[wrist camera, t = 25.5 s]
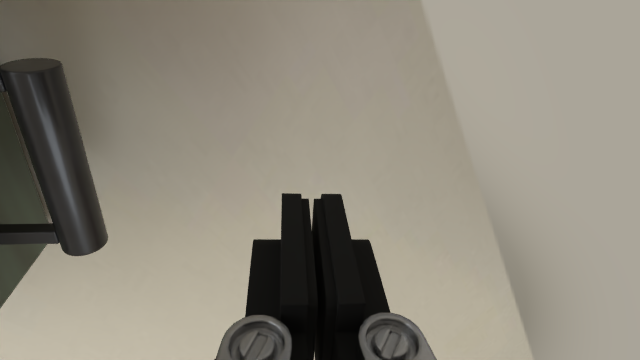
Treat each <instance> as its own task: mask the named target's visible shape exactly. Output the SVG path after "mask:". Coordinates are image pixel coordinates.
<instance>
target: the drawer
mask: <svg viewBox="0 0 640 360" xmlns="http://www.w3.org/2000/svg"><path fill="white" fill-rule="evenodd" d="M5 91H7V93H8V96H9V99H10V101H11V104H12V107H13V110H14V113H15V116H16V119H17V121H18V124H19V127H20V130H21V133H22V136H23V139H24V141H25V144H26V147H27V150H28V153H29V156H30V159H31V161H32V164H33V167H34V170H35V173H36V176H37V179H38V181H39V184H40V187H41V190H42V193H43V196H44V199H45V201H46V204H47V207H48V210H49V213H50V216H51V219H52V222H53V223H48V220H47V217H46V215H45V212H44V209H43V206H42V203H41V201H40V198H39V195H38V192H37V189H36V187H35V184H34V181H33V178H32V175H31V173H30V170H29V167H28V164H27V161H26V159H25V156H24V153H23V150H22V147H21V145H20V142H19V139H18V136H17V133H16V131H15V128H14V125H13V122H12V119H11V116H10V114H9V111H8V108H7V105H6V102H5V100H4V97H3V94H2V92H5ZM107 240H108V234H107V231H106V227H105V223H104V219H103V216H102V212H101V208H100V204H99V201H98V197H97V193H96V189H95V186H94V182H93V178H92V175H91V171H90V167H89V163H88V160H87V156H86V152H85V148H84V145H83V141H82V137H81V133H80V130H79V126H78V122H77V118H76V115H75V111H74V107H73V103H72V100H71V96H70V92H69V88H68V85H67V81H66V77H65V73H64V70H63V66H62V63H61V62H60V61H58V60H54V59H46V58H32V59H21V60H15V61H11V62H8V63H5V64H3V65H1V66H0V308H1V307H2V306H3V304H4V303H5V301H6V300H7V299H8V297H9V296H10V295H11V293H12V292H13V290H14V289H15V288H16V286H17V285H18V284H19V282H20V281H21V279H22V278H23V277H24V275H25V274H26V273H27V271H28V270H29V268H30V267H31V266H32V264H33V263H34V262H35V260H36V259H37V258H38V256H39V255H40V253H41V252H42V251H43V249H44V248H45V247H46V245H47V244H58V243H60V244H61V247H62V250H63V251H64V252H65V253H66V254H68V255H71V256H83V255H88V254H91V253H93V252H96V251H98V250H99V249H101V248H102V247H103V246H104V245H105V244H106V243H107Z"/></svg>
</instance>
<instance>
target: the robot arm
mask: <svg viewBox="0 0 640 360" xmlns="http://www.w3.org/2000/svg"><path fill="white" fill-rule="evenodd" d="M314 352H315V360H437V359H436V357H435V356H434V354H433V352H432V350H431V348H430V346H429V344H428V342H427V340H426V338H425V337H424V335H423V333H422V332H421V330H420V329H419V328H418V326H417V325H415V324H414V323H413V322H412V321H411V320H409V319H407V318H405V317H403V316H401V315H398V314H394V313H390V309H389V306H388V302H387V299H386V295H385V292H384V288H383V285H382V281H381V278H380V274H379V271H378V267H377V264H376V260H375V257H374V253H373V250H372V246H371V243H370V241H369V240H351V235H350V231H349V227H348V222H347V218H346V213H345V209H344V204H343V200H342V196H341V194H322V195H321V199H314V206H313V221H312V230H311V219H310V208H309V199H301V194H284V193H282V220H281V240H253V247H252V257H251V266H250V276H249V286H248V295H247V305H246V315H245V318H242V319H240V320H239V321H237V322H235V323H234V324H233V325H232V326H231V327H230V328H229V329H228V330H227V331H226V333H225V335H224V337H223V339H222V341H221V344H220V347H219V350H218V353H217V356H216V359H215V360H314Z"/></svg>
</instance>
